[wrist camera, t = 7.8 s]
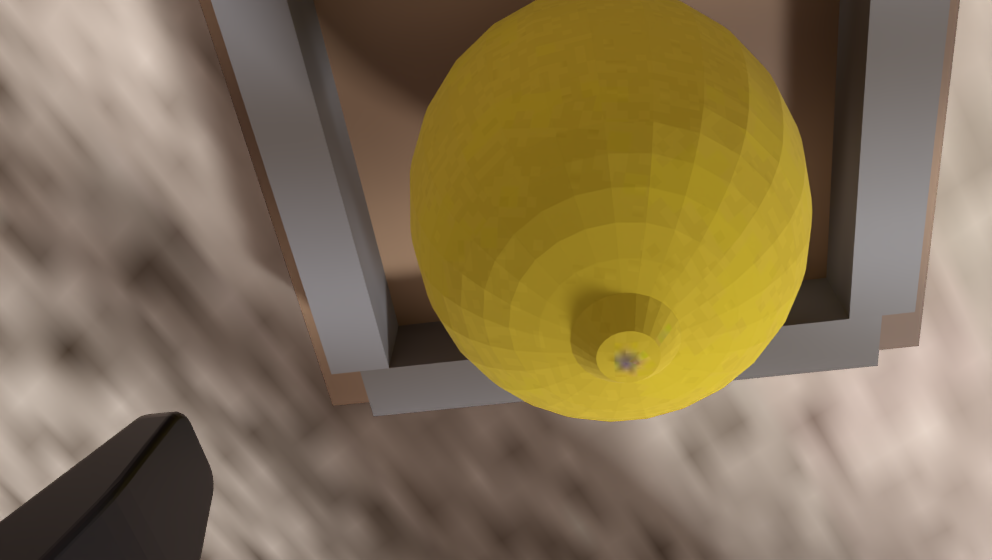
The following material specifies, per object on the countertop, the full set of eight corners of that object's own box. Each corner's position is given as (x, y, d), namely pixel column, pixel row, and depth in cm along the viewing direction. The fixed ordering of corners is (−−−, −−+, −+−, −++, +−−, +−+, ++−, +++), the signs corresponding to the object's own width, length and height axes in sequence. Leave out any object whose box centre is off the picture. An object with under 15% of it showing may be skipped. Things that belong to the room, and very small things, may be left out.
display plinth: (871, 273, 21) (947, 390, 17) (355, 331, 22) (319, 451, 19) (924, -388, 14) (1066, -438, 11) (184, -246, 16) (74, -244, 12)
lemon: (378, 40, 15) (259, 272, 9) (664, -127, 14) (794, -4, 7) (526, 272, 18) (524, 595, 11) (783, 153, 16) (966, 444, 10)
